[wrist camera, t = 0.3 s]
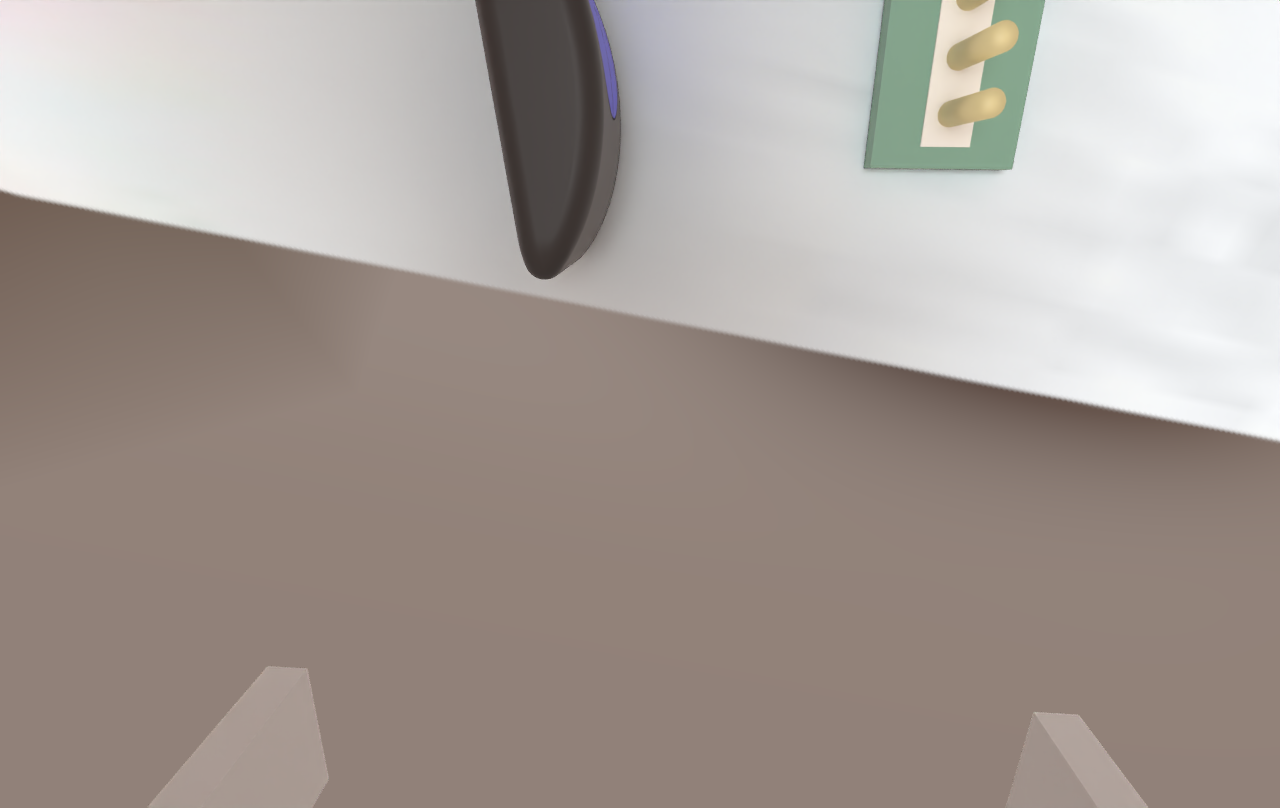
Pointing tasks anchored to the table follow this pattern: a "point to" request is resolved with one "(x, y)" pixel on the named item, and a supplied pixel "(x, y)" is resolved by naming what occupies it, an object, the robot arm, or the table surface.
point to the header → (951, 83)
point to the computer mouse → (553, 122)
